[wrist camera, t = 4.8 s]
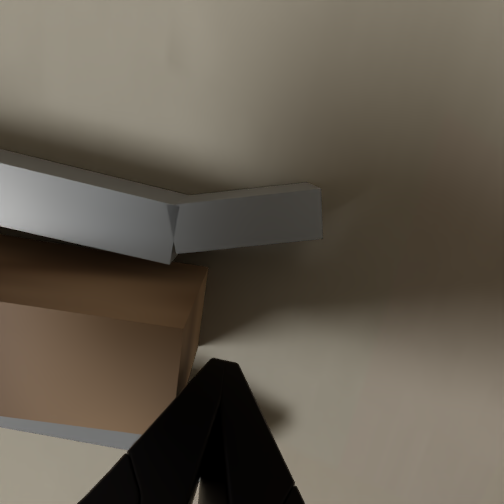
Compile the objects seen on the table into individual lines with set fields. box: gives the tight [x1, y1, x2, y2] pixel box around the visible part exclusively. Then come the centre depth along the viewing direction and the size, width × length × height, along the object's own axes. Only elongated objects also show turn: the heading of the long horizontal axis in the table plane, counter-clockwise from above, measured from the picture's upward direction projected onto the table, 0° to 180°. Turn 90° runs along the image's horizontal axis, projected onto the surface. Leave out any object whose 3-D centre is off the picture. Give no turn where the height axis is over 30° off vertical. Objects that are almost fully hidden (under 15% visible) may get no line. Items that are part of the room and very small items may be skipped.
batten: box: [0, 234, 208, 435], centre depth 8 cm, size 10×3×4 cm, turn 80°
